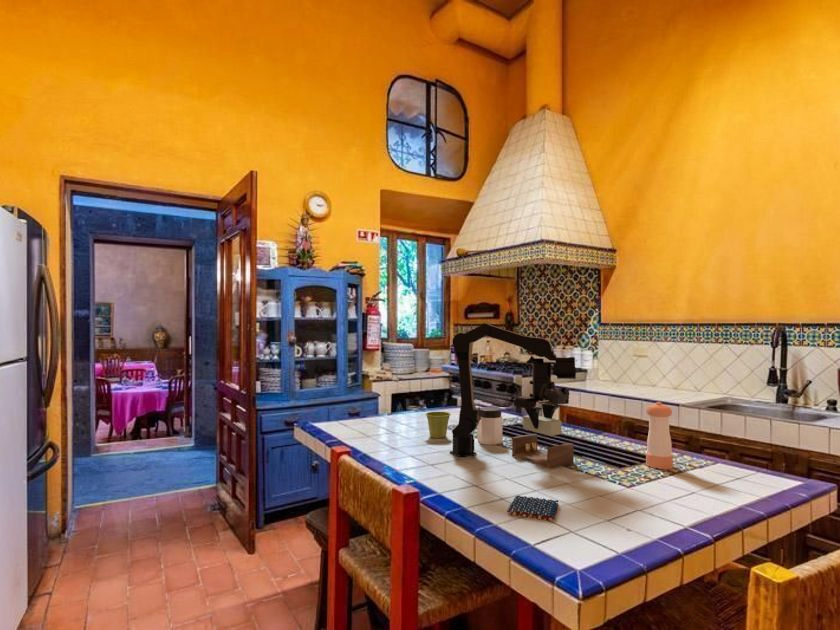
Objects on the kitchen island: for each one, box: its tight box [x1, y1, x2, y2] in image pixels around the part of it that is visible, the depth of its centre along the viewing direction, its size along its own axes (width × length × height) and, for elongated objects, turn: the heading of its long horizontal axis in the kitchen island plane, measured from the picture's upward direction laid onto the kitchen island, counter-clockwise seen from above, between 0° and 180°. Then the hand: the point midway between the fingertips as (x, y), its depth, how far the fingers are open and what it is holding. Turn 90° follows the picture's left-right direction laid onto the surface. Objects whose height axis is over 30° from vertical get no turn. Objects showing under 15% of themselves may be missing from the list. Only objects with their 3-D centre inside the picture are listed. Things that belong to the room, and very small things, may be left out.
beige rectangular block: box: [522, 414, 562, 437], centre depth 158 cm, size 12×4×4 cm, turn 32°
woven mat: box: [506, 494, 560, 522], centre depth 115 cm, size 10×11×2 cm
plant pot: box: [425, 411, 451, 439], centre depth 189 cm, size 9×9×9 cm
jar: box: [477, 406, 503, 446], centre depth 181 cm, size 9×8×12 cm
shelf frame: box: [511, 433, 575, 469], centre depth 158 cm, size 16×10×6 cm, turn 32°
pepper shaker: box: [645, 401, 674, 470], centre depth 151 cm, size 7×7×19 cm
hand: (541, 427), depth 158 cm, fingers closed on beige rectangular block, 4 cm apart
